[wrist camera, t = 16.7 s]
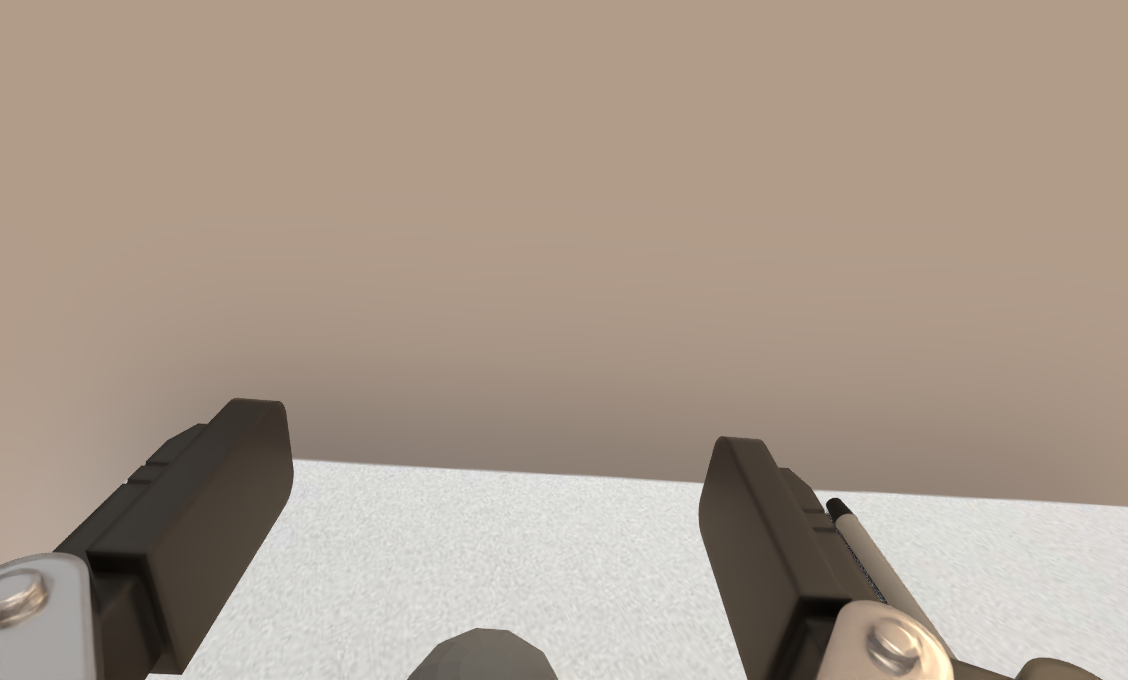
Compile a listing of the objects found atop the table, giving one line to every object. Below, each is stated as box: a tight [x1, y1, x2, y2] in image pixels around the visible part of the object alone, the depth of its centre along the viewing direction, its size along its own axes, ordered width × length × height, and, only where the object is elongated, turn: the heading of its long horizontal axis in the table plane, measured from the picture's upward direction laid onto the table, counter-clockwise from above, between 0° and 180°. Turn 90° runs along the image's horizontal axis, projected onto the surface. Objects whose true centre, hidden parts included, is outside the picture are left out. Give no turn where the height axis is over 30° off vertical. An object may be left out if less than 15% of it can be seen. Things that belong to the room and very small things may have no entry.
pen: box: [826, 498, 957, 660], centre depth 26 cm, size 1×16×1 cm, turn 3°
